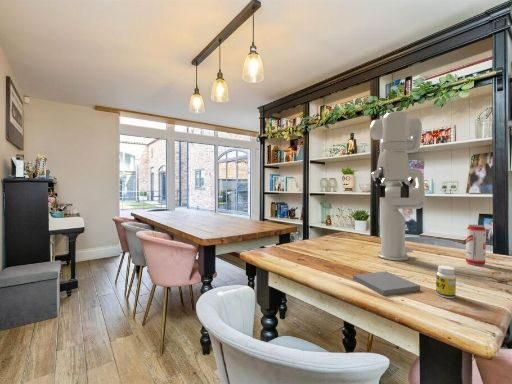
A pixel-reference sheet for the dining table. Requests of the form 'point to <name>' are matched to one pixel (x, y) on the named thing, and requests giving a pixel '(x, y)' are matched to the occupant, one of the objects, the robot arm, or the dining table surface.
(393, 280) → the slate board
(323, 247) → the dining table surface
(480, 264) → the beer can
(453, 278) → the supplement bottle
